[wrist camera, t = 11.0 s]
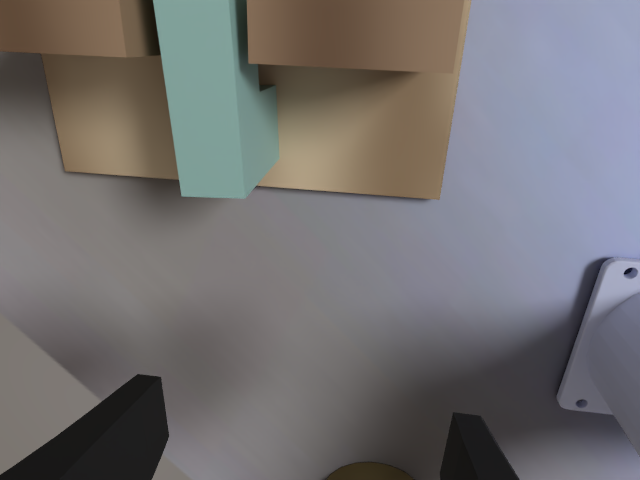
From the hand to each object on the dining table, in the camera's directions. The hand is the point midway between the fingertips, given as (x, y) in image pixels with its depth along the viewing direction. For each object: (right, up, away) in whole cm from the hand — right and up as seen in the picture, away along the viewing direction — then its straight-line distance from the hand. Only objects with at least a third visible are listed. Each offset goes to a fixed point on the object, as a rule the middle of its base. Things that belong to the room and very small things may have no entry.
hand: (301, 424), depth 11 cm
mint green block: (-2, +12, +5) cm, 13 cm away
